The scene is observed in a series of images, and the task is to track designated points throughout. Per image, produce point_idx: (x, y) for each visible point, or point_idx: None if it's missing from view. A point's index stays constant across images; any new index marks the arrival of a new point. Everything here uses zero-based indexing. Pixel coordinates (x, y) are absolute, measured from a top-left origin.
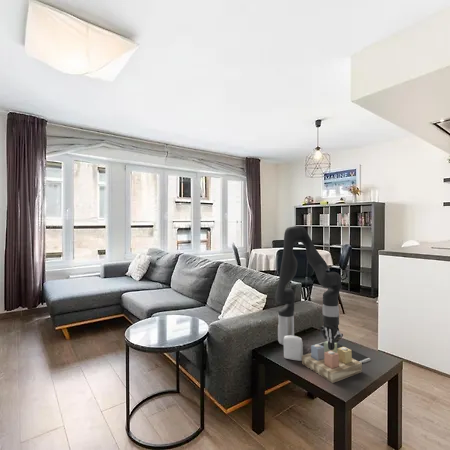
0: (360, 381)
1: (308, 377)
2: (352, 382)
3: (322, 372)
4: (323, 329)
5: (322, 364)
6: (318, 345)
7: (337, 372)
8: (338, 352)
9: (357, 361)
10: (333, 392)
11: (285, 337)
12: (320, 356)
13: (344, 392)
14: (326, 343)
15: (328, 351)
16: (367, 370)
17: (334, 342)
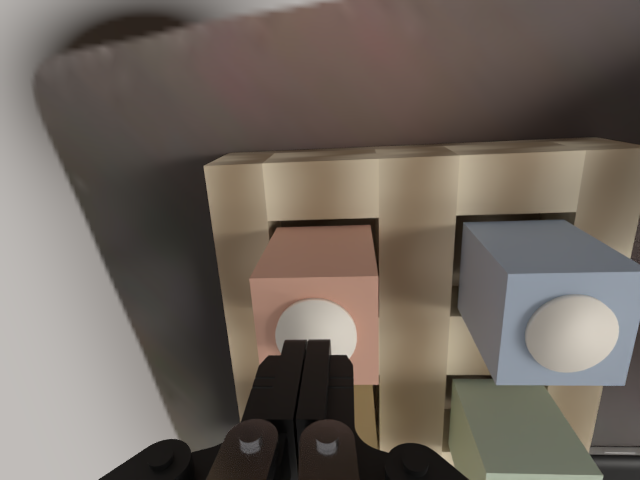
0: (178, 338)
1: (387, 22)
2: (186, 286)
3: (333, 153)
4: None
5: (378, 206)
6: (570, 350)
7: (215, 229)
8: (363, 437)
9: None
10: (123, 59)
11: None
12: (470, 272)
13: (100, 139)
14: (554, 471)
15: (372, 339)
16: None
17: (141, 451)
